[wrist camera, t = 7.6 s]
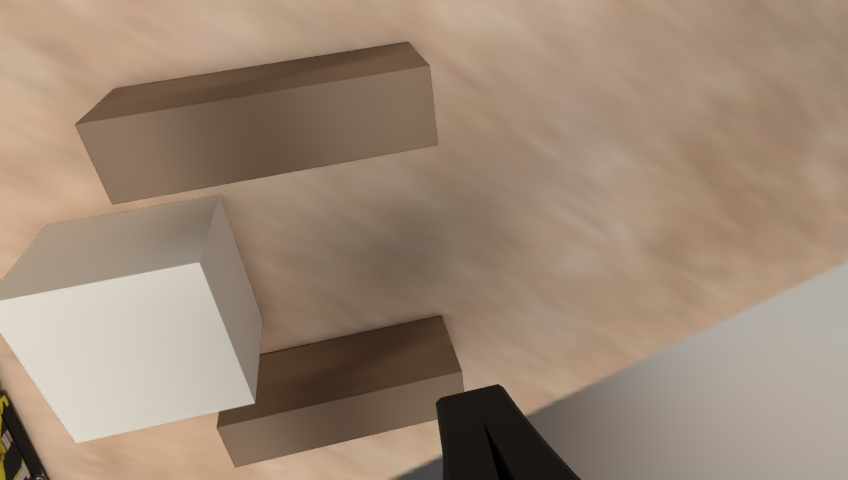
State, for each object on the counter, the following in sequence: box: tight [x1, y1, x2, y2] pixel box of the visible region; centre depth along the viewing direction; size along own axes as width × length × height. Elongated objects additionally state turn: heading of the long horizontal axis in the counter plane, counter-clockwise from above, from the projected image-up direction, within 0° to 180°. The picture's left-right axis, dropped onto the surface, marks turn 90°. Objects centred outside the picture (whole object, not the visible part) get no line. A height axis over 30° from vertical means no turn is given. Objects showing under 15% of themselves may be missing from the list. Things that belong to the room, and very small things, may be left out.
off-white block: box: [0, 195, 263, 443], centre depth 16 cm, size 5×5×4 cm
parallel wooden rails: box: [75, 42, 464, 468], centre depth 17 cm, size 8×12×3 cm, turn 7°
